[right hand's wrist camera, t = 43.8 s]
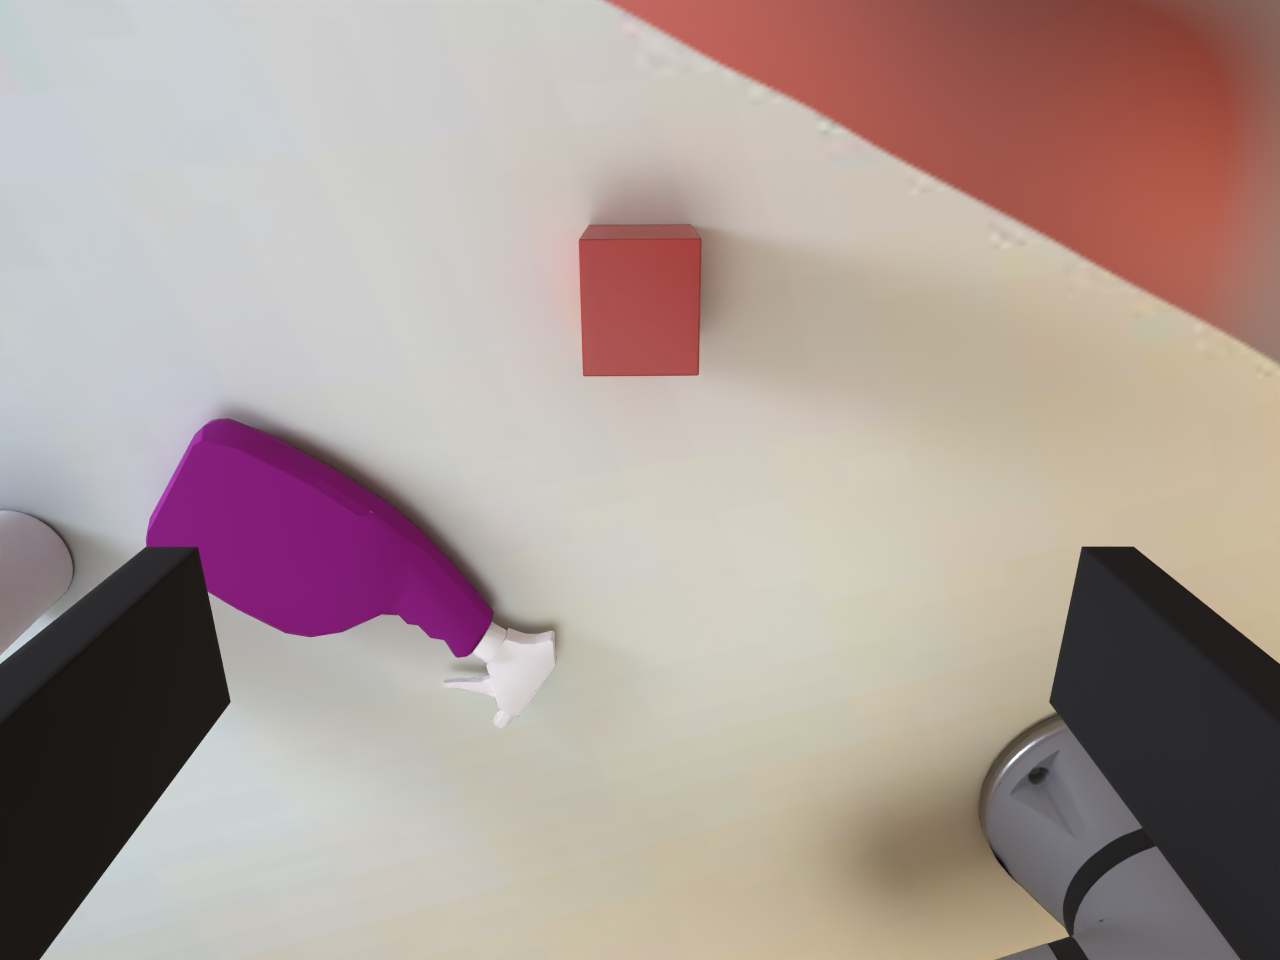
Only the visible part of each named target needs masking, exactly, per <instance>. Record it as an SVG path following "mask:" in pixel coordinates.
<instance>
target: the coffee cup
mask: <svg viewBox="0 0 1280 960" xmlns="http://www.w3.org/2000/svg"><path fill="white" fill-rule="evenodd" d="M72 576H73V564H72V559H71V556H70V553H69V551H68V549H67V547H66V545H65V544H64V542H63V541H62V540H61V538H60V537H59V536H58V535H57V534H56V533H55V532H54V531H53V530H52V529H51V528H50V527H49V526H47V525H46V524H44V523H43V522H41V521H40V520H38V519H36V518H34V517H32V516H29V515H27V514H24V513H20V512H16V511H9V510H0V655H1V654H2V653H3V652H4V651H5V650H6V649H7V648H8V647H9V646H10V645H11V644H12V643H13V642H14V641H15V640H17V639H18V638H19V637H20V636H21V635H22V634H23V633H24V632H25V631H26V630H27V629H28V628H29V627H30V626H31V625H32V624H33V623H34V622H35V621H36V620H37V619H38V618H39V617H40V616H41V615H43V614H44V613H45V612H46V611H47V610H48V609H49V608H50V607H51V606H52V605H53V604H54V603H55V602H56V601H57V600H58V599H59V598H60V597H61V596H62V595H63V594H64V593H65V592H66V591H67V589H68V588H69V586H70V583H71V581H72Z"/></svg>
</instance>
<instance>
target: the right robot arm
mask: <svg viewBox="0 0 1280 960" xmlns="http://www.w3.org/2000/svg"><path fill="white" fill-rule="evenodd" d="M230 702H231V701H230V696H229V692H228V687H227V682H226V677H225V673H224V668H223V663H222V658H221V654H220V649H219V644H218V639H217V635H216V630H215V625H214V620H213V616H212V611H211V606H210V601H209V597H208V592H207V587H206V582H205V578H204V573H203V568H202V563H201V558H200V554H199V549H198V547H145V548H144V549H143V550H142V551H140V552H139V553H138V554H137V555H135V556H134V557H133V558H132V559H130V560H129V561H128V562H127V563H126V564H124V565H123V566H122V567H121V568H119V569H118V570H117V571H116V572H114V573H113V574H112V575H111V576H109V577H108V578H107V579H106V580H104V581H103V582H102V583H101V584H99V585H98V586H97V587H96V588H94V589H93V590H92V591H91V592H89V593H88V594H87V595H86V596H84V597H83V598H82V599H81V600H79V601H78V602H77V603H76V604H74V605H73V606H72V607H71V608H69V609H68V610H67V611H66V612H65V613H63V614H62V615H61V616H60V617H58V618H57V619H56V620H55V621H53V622H52V623H51V624H50V625H48V626H47V627H46V628H45V629H43V630H42V631H41V632H40V633H38V634H37V635H36V636H35V637H33V638H32V639H31V640H30V641H28V642H27V643H26V644H25V645H23V646H22V647H21V648H20V649H18V650H17V651H16V652H15V653H13V654H12V655H11V656H10V657H8V658H7V659H6V660H5V661H3V662H2V663H1V664H0V960H40V958H41V957H42V956H43V954H44V953H45V952H46V950H47V949H48V947H49V946H50V945H51V943H52V942H53V941H54V939H55V938H56V937H57V935H58V934H59V933H60V931H61V930H62V929H63V927H64V926H65V925H66V923H67V922H68V921H69V919H70V918H71V917H72V915H73V914H74V912H75V911H76V910H77V908H78V907H79V906H80V904H81V903H82V902H83V900H84V899H85V898H86V896H87V895H88V894H89V892H90V891H91V890H92V888H93V887H94V886H95V884H96V883H97V881H98V880H99V879H100V877H101V876H102V875H103V873H104V872H105V871H106V869H107V868H108V867H109V865H110V864H111V863H112V861H113V860H114V859H115V857H116V856H117V855H118V853H119V852H120V850H121V849H122V848H123V846H124V845H125V844H126V842H127V841H128V840H129V838H130V837H131V836H132V834H133V833H134V832H135V830H136V829H137V828H138V826H139V825H140V824H141V822H142V821H143V819H144V818H145V817H146V815H147V814H148V813H149V811H150V810H151V809H152V807H153V806H154V805H155V803H156V802H157V801H158V799H159V798H160V797H161V795H162V794H163V793H164V791H165V790H166V788H167V787H168V786H169V784H170V783H171V782H172V780H173V779H174V778H175V776H176V775H177V774H178V772H179V771H180V770H181V768H182V767H183V766H184V764H185V763H186V762H187V760H188V759H189V757H190V756H191V755H192V753H193V752H194V751H195V749H196V748H197V747H198V745H199V744H200V743H201V741H202V740H203V739H204V737H205V736H206V735H207V733H208V732H209V731H210V729H211V728H212V726H213V725H214V724H215V722H216V721H217V720H218V718H219V717H220V716H221V714H222V713H223V712H224V710H225V709H226V708H227V706H228V705H229V704H230ZM1049 702H1050V704H1051V705H1052V706H1053V708H1054V709H1055V710H1056V712H1057V713H1058V715H1056V716H1053V717H1051V718H1049V719H1047V720H1045V721H1043V722H1041V723H1039V724H1037V725H1036V726H1034V727H1032V728H1031V729H1029V730H1028V731H1026V732H1025V733H1023V734H1022V735H1021V736H1019V737H1018V738H1017V739H1016V740H1015V741H1014V742H1012V743H1011V744H1010V745H1009V746H1008V747H1007V748H1006V749H1005V750H1004V751H1003V753H1002V754H1001V755H1000V756H999V757H998V759H997V760H996V762H995V763H994V764H993V766H992V767H991V769H990V771H989V773H988V775H987V777H986V779H985V782H984V784H983V787H982V791H981V795H980V800H979V819H980V823H981V827H982V830H983V833H984V835H985V837H986V839H987V841H988V843H989V845H990V847H991V849H992V851H993V853H994V855H995V857H996V859H997V860H998V862H999V863H1000V865H1001V866H1002V867H1003V868H1004V869H1005V870H1006V872H1007V873H1008V874H1009V875H1010V876H1011V877H1012V878H1013V879H1014V880H1015V881H1016V882H1017V883H1018V884H1019V885H1020V886H1021V887H1022V888H1023V889H1025V890H1026V891H1027V892H1028V893H1029V894H1030V895H1031V896H1032V897H1033V898H1034V899H1035V900H1036V901H1037V902H1038V903H1039V904H1040V905H1041V906H1042V907H1043V908H1044V909H1045V910H1046V911H1047V912H1048V913H1050V914H1051V915H1052V916H1053V917H1054V918H1055V919H1056V920H1057V921H1058V922H1059V923H1060V924H1061V925H1062V926H1063V927H1064V928H1065V929H1066V931H1067V933H1068V934H1069V936H1070V937H1067V938H1064V939H1061V940H1057V941H1054V942H1051V943H1047V944H1043V945H1040V946H1037V947H1034V948H1031V949H1027V950H1024V951H1021V952H1018V953H1015V954H1012V955H1009V956H1005V957H1002V958H999V959H996V960H1280V664H1279V663H1278V662H1277V661H1275V660H1274V659H1273V658H1272V657H1270V656H1269V655H1268V654H1267V653H1265V652H1264V651H1263V650H1262V649H1260V648H1259V647H1258V646H1257V645H1255V644H1254V643H1253V642H1252V641H1250V640H1249V639H1248V638H1247V637H1245V636H1244V635H1243V634H1242V633H1240V632H1239V631H1238V630H1237V629H1235V628H1234V627H1233V626H1232V625H1230V624H1229V623H1228V622H1227V621H1225V620H1224V619H1223V618H1222V617H1220V616H1219V615H1218V614H1217V613H1215V612H1214V611H1213V610H1212V609H1211V608H1209V607H1208V606H1207V605H1206V604H1204V603H1203V602H1202V601H1201V600H1199V599H1198V598H1197V597H1196V596H1194V595H1193V594H1192V593H1191V592H1189V591H1188V590H1187V589H1186V588H1184V587H1183V586H1182V585H1181V584H1179V583H1178V582H1177V581H1176V580H1174V579H1173V578H1172V577H1171V576H1169V575H1168V574H1167V573H1166V572H1164V571H1163V570H1162V569H1161V568H1159V567H1158V566H1157V565H1156V564H1154V563H1153V562H1152V561H1151V560H1150V559H1148V558H1147V557H1146V556H1145V555H1143V554H1142V553H1141V552H1140V551H1138V550H1137V549H1136V548H1135V547H1082V549H1081V554H1080V558H1079V563H1078V568H1077V573H1076V578H1075V582H1074V587H1073V592H1072V597H1071V601H1070V606H1069V611H1068V616H1067V620H1066V625H1065V630H1064V635H1063V639H1062V644H1061V649H1060V654H1059V658H1058V663H1057V668H1056V673H1055V677H1054V682H1053V687H1052V692H1051V696H1050V701H1049ZM999 863H998V864H999ZM1002 867H1001V868H1002ZM1008 877H1009V876H1008ZM1011 881H1012V880H1011Z"/></svg>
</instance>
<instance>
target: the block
mask: <svg viewBox="0 0 1280 960" xmlns="http://www.w3.org/2000/svg"><path fill="white" fill-rule="evenodd" d="M579 263H580V294H581V325H582V357H583V376H692V375H698V374H699V329H700V277H701V238H700V237H699V235H698V234H697V233H696V231H695V230H694V228H693V227H692V226H691V225H690V224H673V225H589V226H588V227H587V229H586V230H585V232H584V233H583V235H582V236H581V238H580V239H579Z"/></svg>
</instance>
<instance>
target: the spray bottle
mask: <svg viewBox="0 0 1280 960" xmlns="http://www.w3.org/2000/svg"><path fill="white" fill-rule="evenodd" d="M146 546H147V547H198V549H199V554H200V558H201V563H202V568H203V573H204V578H205V582H206V587H207V591H208V592H210V593H211V594H213V595H214V596H216V597H218V598H219V599H221V600H223V601H224V602H226V603H228V604H229V605H231V606H232V607H234V608H236V609H238V610H240V611H242V612H244V613H246V614H248V615H250V616H252V617H254V618H256V619H258V620H260V621H262V622H264V623H266V624H268V625H270V626H272V627H274V628H276V629H278V630H280V631H282V632H284V633H288V634H294V635H300V636H306V637H315V636H321V635H327V634H333V633H339V632H343V631H346V630H348V629H350V628H352V627H354V626H357V625H359V624H361V623H363V622H366V621H368V620H370V619H372V618H375V617H377V616H379V615H381V614H385V615H399V616H400V617H401V618H402V619H403V620H404V621H405V622H406V623H407V624H412V625H418V626H419V627H420V628H421V629H422V630H423V631H424V632H425V633H426V634H427V635H428V636H429V637H430V638H435V639H441V640H445V642H446V643H447V645H448V646H449V648H450V650H451V651H452V653H453V654H454V655H455V657H457V658H459V657H466V656H468V655H469V654H472V655H473V656H475V657H477V658H479V659H481V660H483V661H484V662H486V663H487V665H486V667H487V670H488V673H489V675H487V676H485V677H473V678H456V679H445V680H444V682H443V684H444V687H453V688H461V689H465V690H470V691H475V692H480V693H485V694H487V695H490V696H492V697H494V698H496V701H497V705H498V708H499V710H498V712H497V714H496V716H495V717H494V721H493V722H494V723H495V725H496V726H497V727H499V728H502V729H503V728H506V727H507V726H508V725H509V723H510V722H511V721H512V719H513V718H514V717H515V716H518V717H519V715H520V714H521V712H522V711H523V710H524V708H525V707H526V706H527V704H528V703H529V701H530V700H531V699H532V697H533V696H534V695H535V693H536V692H537V690H538V689H539V688H540V686H541V685H542V684H543V682H544V681H545V679H546V678H547V677H548V675H549V674H550V673H551V671H552V670H553V668H554V667H555V663H556V648H555V633H554V631H553V630H551V631H547V632H543V633H539V634H525V633H522V632H519V631H516V630H513V629H510V628H508V629H507V630H505V629H503V628H502V627H500V626H498V625H496V624H495V623H493V622H492V616H493V611H492V609H491V608H490V607H489V606H488V605H487V604H486V602H485V601H484V600H483V599H482V598H481V596H480V595H479V594H478V593H477V592H476V590H475V589H474V588H473V587H472V586H471V585H470V583H469V582H468V581H467V580H466V579H465V577H464V576H463V575H462V574H461V573H460V571H459V570H458V569H457V568H456V567H455V566H454V564H453V563H452V562H451V561H450V560H449V559H448V558H447V557H446V556H445V555H444V554H443V553H442V551H441V550H440V549H439V548H438V547H437V546H436V545H435V544H434V543H433V542H432V541H431V540H430V539H429V538H428V537H427V536H426V535H425V534H424V533H423V532H422V531H421V530H420V529H419V528H418V527H417V526H416V525H414V524H413V523H412V522H411V521H409V520H408V519H407V518H406V517H404V516H403V515H402V514H401V513H400V512H398V511H397V510H396V509H395V508H393V507H392V506H391V505H390V504H388V503H387V502H386V501H384V500H382V499H381V498H379V497H378V496H376V495H375V494H373V493H372V492H370V491H368V490H367V489H365V488H364V487H362V486H361V485H359V484H358V483H356V482H354V481H353V480H351V479H350V478H348V477H347V476H345V475H343V474H342V473H340V472H339V471H337V470H335V469H333V468H331V467H330V466H328V465H326V464H324V463H322V462H320V461H318V460H317V459H315V458H313V457H311V456H309V455H307V454H305V453H304V452H302V451H300V450H298V449H296V448H294V447H292V446H290V445H289V444H287V443H285V442H283V441H281V440H279V439H277V438H276V437H274V436H272V435H270V434H267V433H265V432H262V431H260V430H257V429H255V428H252V427H250V426H247V425H245V424H242V423H240V422H237V421H234V420H231V419H217V420H212V421H210V422H209V423H207V424H206V425H205V426H203V427H202V428H201V429H200V430H199V431H198V432H197V433H196V434H195V435H194V437H193V439H192V441H191V443H190V445H189V446H188V448H187V450H186V452H185V454H184V456H183V458H182V460H181V461H180V463H179V465H178V467H177V469H176V471H175V473H174V474H173V476H172V478H171V480H170V482H169V484H168V486H167V487H166V489H165V491H164V493H163V495H162V497H161V499H160V500H159V502H158V504H157V506H156V508H155V510H154V512H153V513H152V515H151V517H150V520H149V526H148V531H147V536H146Z"/></svg>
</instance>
